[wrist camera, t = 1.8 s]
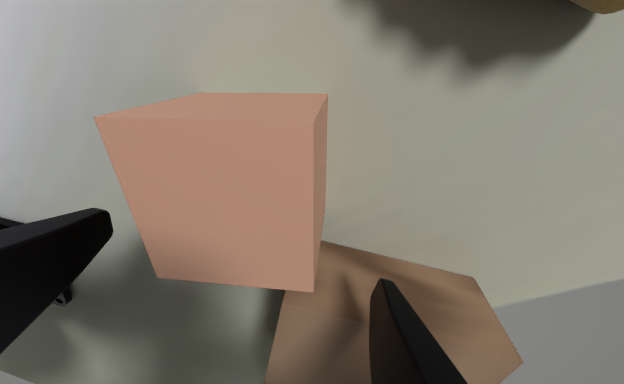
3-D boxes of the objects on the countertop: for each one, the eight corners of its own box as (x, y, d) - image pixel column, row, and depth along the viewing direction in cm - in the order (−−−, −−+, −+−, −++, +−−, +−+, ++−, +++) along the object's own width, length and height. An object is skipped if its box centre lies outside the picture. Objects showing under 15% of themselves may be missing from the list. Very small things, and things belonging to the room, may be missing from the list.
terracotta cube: (224, 200, 12) (157, 277, 8) (203, 92, 10) (93, 117, 6) (325, 206, 12) (313, 292, 7) (328, 93, 10) (313, 121, 5)
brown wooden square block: (275, 338, 17) (257, 411, 13) (299, 235, 13) (282, 302, 9) (405, 370, 17) (421, 452, 13) (473, 278, 13) (523, 362, 9)
